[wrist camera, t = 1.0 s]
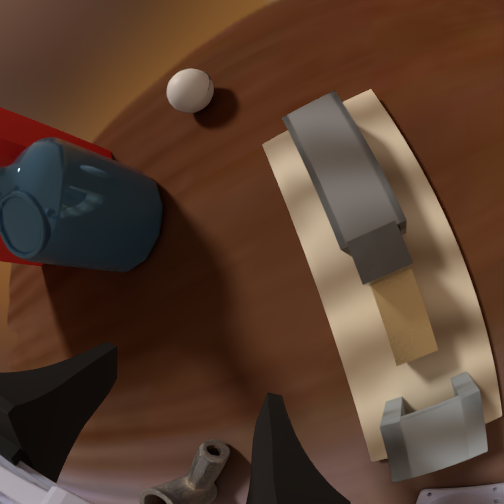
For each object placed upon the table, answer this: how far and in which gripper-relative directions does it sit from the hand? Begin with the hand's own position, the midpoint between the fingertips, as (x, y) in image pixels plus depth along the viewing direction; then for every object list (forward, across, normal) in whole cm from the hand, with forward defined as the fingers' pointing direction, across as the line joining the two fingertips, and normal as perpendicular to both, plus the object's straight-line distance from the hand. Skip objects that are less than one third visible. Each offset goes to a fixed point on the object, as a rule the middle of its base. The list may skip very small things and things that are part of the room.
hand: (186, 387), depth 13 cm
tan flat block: (+13, -9, -7) cm, 17 cm away
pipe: (+10, -2, +23) cm, 26 cm away
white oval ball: (+28, +10, -17) cm, 35 cm away
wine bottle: (+26, +15, +1) cm, 30 cm away
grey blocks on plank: (+13, -12, -5) cm, 18 cm away
